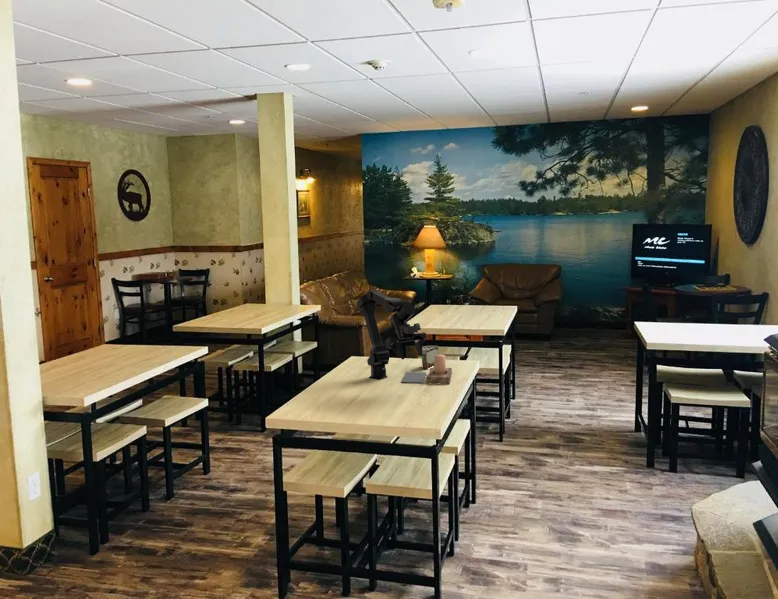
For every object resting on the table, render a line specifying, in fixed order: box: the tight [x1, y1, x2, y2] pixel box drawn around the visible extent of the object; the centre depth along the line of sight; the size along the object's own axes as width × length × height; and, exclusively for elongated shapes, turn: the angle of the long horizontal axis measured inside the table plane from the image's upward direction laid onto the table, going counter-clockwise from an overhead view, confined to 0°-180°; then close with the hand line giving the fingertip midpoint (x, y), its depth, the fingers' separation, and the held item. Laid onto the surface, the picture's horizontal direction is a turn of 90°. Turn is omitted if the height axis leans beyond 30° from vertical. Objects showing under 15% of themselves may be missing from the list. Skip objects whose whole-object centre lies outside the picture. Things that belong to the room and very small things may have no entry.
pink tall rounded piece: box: [433, 353, 447, 374], centre depth 306 cm, size 5×5×11 cm
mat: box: [401, 371, 427, 384], centre depth 308 cm, size 10×18×1 cm, turn 172°
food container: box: [421, 345, 439, 370], centre depth 329 cm, size 12×6×10 cm, turn 144°
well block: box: [427, 367, 453, 385], centre depth 306 cm, size 10×18×3 cm, turn 172°
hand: (412, 357), depth 284 cm, fingers open, 9 cm apart
